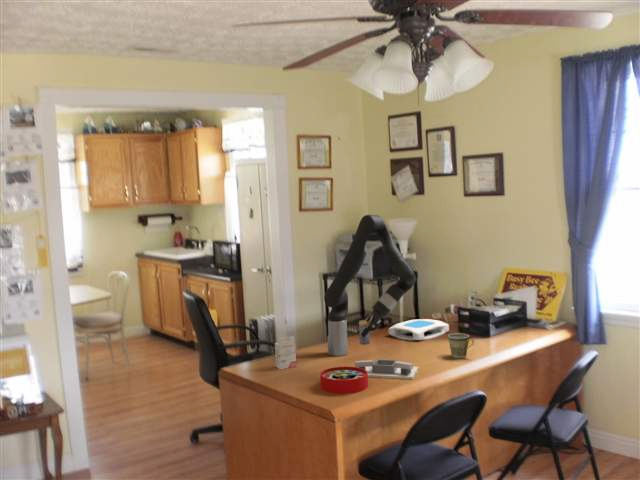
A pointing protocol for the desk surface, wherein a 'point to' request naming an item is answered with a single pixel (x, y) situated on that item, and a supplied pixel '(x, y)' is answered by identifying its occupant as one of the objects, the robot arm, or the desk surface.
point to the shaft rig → (388, 369)
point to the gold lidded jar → (362, 326)
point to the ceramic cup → (459, 344)
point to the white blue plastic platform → (418, 329)
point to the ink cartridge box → (285, 353)
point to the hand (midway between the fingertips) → (360, 334)
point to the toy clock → (344, 380)
